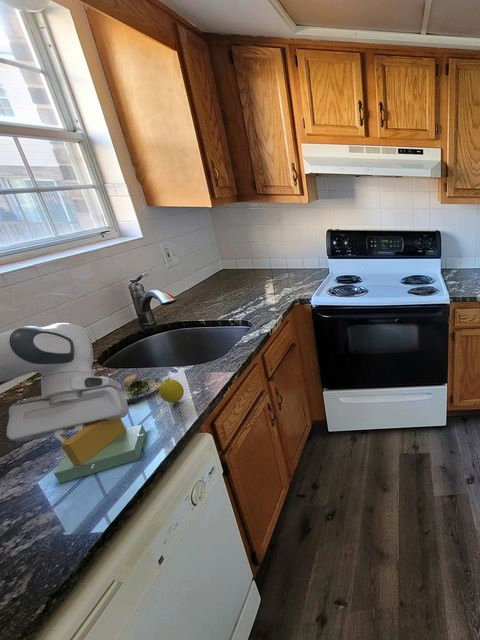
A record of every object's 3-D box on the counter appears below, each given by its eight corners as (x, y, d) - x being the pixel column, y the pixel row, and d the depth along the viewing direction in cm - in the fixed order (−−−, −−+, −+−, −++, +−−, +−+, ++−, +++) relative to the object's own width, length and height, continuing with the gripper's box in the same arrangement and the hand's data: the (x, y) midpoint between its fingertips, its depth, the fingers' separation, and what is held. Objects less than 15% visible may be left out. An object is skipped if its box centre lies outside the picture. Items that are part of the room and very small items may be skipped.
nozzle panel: (49, 493, 78) (41, 483, 76) (73, 448, 90) (67, 438, 89) (143, 464, 85) (137, 454, 83) (153, 426, 98) (148, 416, 96)
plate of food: (136, 406, 106) (126, 385, 103) (106, 402, 108) (94, 380, 105) (174, 384, 116) (165, 364, 113) (145, 381, 119) (136, 361, 116)
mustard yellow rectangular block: (81, 465, 81) (68, 443, 78) (73, 465, 81) (59, 443, 78) (126, 429, 92) (116, 409, 89) (118, 429, 92) (108, 409, 89)
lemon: (180, 395, 111) (171, 372, 107) (191, 399, 108) (182, 376, 105) (160, 405, 106) (150, 382, 103) (171, 410, 104) (161, 386, 100)
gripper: (-2, 399, 79) (-3, 463, 75) (115, 376, 87) (120, 432, 83) (19, 404, 84) (20, 464, 81) (128, 382, 92) (134, 435, 89)
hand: (72, 448), depth 82 cm, fingers closed
